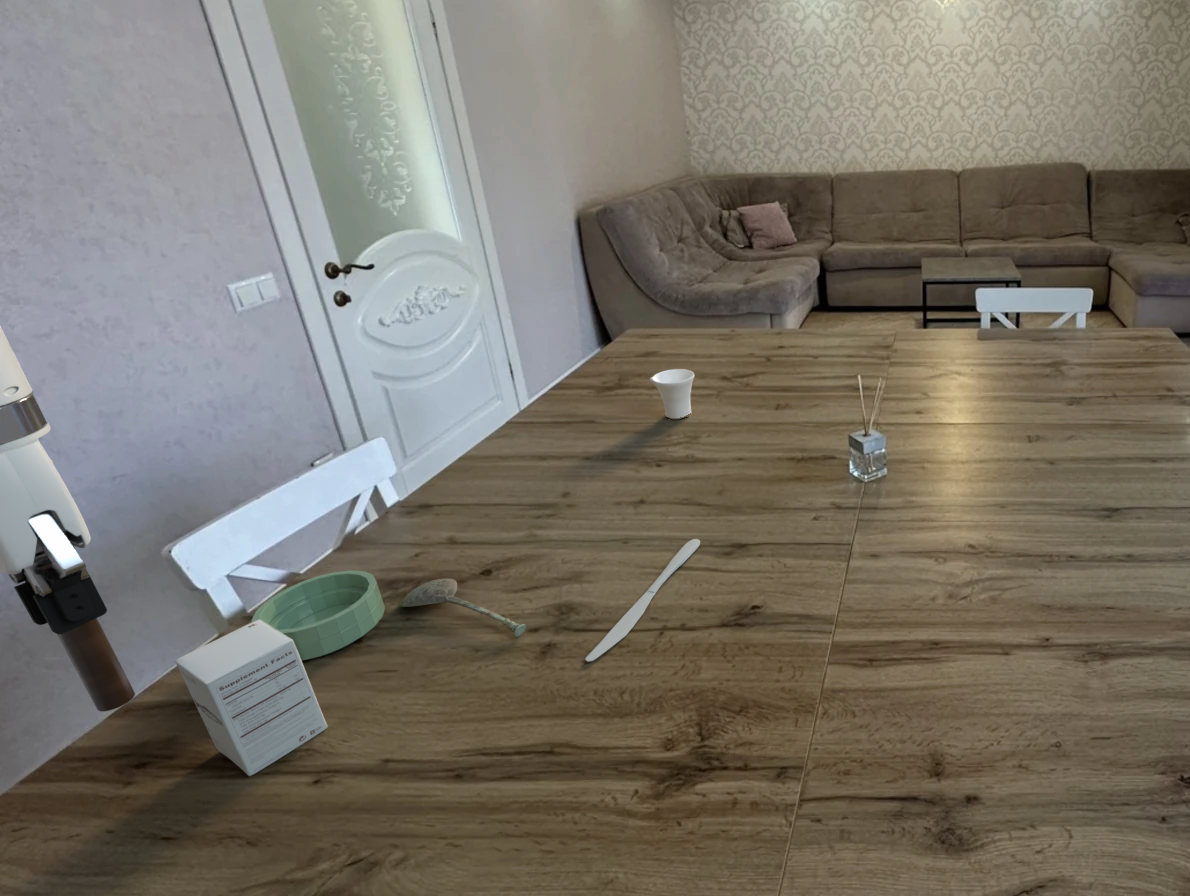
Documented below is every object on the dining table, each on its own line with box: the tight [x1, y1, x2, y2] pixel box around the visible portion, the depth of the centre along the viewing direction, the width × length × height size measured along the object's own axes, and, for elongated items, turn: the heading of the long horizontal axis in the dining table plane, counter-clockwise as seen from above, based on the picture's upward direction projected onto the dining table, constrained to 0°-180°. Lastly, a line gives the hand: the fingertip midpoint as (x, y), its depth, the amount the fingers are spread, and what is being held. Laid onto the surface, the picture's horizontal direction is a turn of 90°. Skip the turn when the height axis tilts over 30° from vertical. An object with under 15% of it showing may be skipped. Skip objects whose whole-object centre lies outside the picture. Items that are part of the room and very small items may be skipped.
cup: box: [649, 368, 695, 418], centre depth 158 cm, size 9×9×10 cm
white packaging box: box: [174, 619, 328, 777], centre depth 76 cm, size 7×7×13 cm
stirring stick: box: [24, 563, 136, 712], centre depth 63 cm, size 2×2×15 cm
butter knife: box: [585, 538, 701, 663], centre depth 101 cm, size 1×27×3 cm
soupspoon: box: [399, 578, 528, 638], centre depth 97 cm, size 22×3×7 cm
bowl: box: [250, 569, 386, 661], centre depth 94 cm, size 13×13×5 cm
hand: (71, 617), depth 62 cm, fingers closed on stirring stick, 2 cm apart
